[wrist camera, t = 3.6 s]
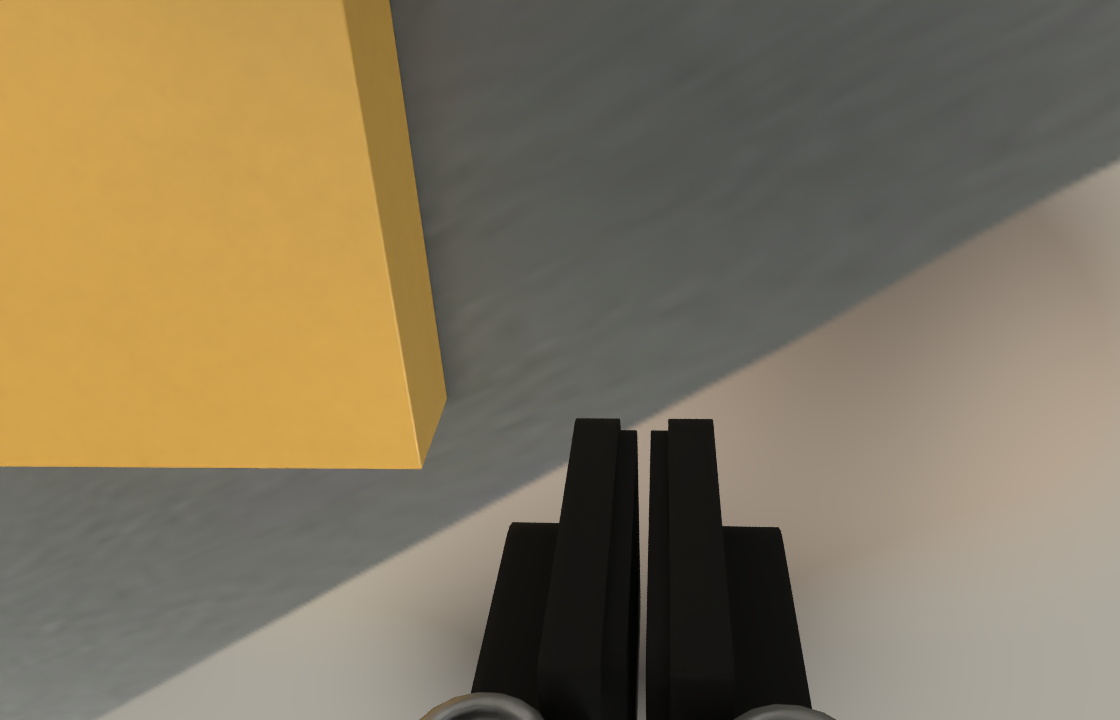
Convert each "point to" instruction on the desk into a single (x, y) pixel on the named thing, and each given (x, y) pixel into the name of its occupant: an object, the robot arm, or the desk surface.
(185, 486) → the desk surface
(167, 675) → the desk surface
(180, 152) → the orange flat block
